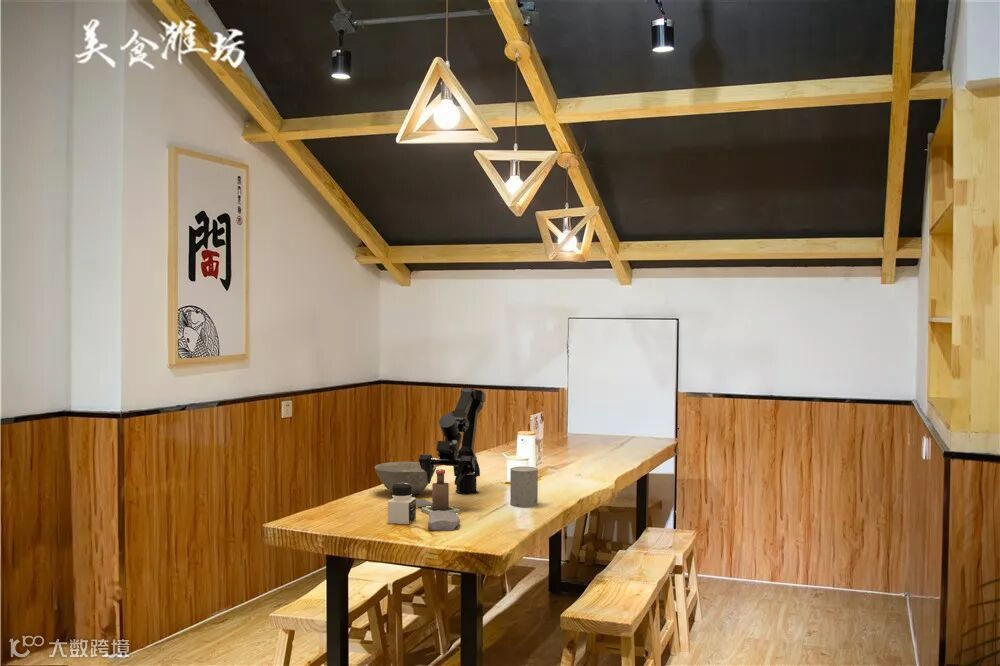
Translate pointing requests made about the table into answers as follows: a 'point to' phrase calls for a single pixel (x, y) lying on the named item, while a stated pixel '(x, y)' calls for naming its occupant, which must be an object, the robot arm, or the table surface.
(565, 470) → the table surface
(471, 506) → the table surface
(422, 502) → the slate pad
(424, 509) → the pocket frame
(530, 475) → the grey matte cylinder
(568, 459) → the table surface
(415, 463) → the ceramic bowl
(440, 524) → the stone block
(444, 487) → the sauce bottle
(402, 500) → the medicine bottle
